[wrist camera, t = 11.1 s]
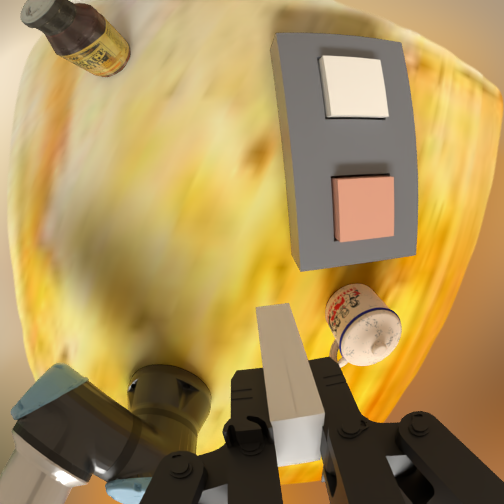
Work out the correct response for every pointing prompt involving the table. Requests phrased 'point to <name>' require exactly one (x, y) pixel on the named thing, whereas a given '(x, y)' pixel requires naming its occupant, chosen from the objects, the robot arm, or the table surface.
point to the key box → (342, 148)
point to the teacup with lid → (361, 326)
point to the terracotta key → (362, 206)
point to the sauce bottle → (78, 35)
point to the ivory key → (352, 88)
